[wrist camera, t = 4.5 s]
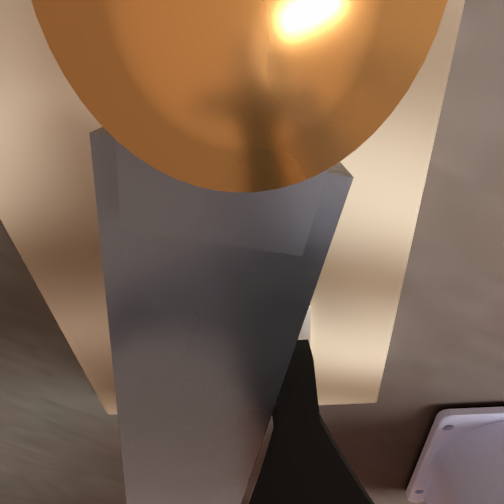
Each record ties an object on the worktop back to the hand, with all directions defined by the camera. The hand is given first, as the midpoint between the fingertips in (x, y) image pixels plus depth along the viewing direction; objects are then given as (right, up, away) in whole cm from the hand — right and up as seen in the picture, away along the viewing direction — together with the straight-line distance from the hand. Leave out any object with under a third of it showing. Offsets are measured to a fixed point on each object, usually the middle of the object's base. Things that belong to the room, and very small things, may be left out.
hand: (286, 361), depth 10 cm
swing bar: (-2, +3, -2) cm, 4 cm away
